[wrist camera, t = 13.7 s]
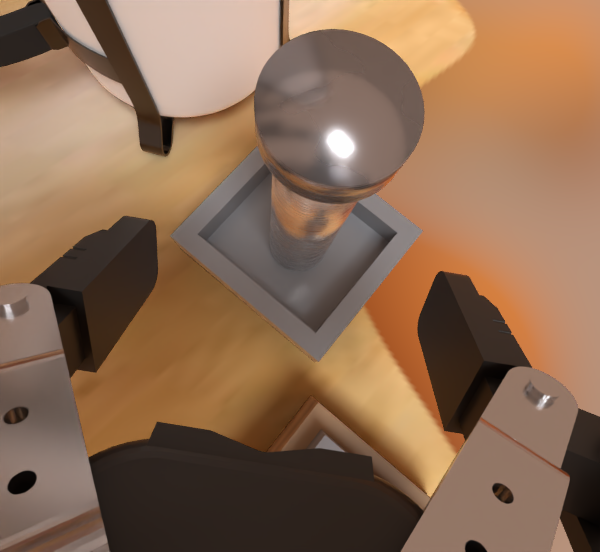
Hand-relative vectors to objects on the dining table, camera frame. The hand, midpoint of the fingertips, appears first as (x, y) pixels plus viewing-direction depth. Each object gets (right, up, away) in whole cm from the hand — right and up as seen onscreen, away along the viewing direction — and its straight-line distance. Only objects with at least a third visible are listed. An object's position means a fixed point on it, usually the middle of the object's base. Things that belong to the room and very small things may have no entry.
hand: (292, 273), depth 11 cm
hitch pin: (0, +2, +11) cm, 11 cm away
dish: (0, +2, +12) cm, 12 cm away
